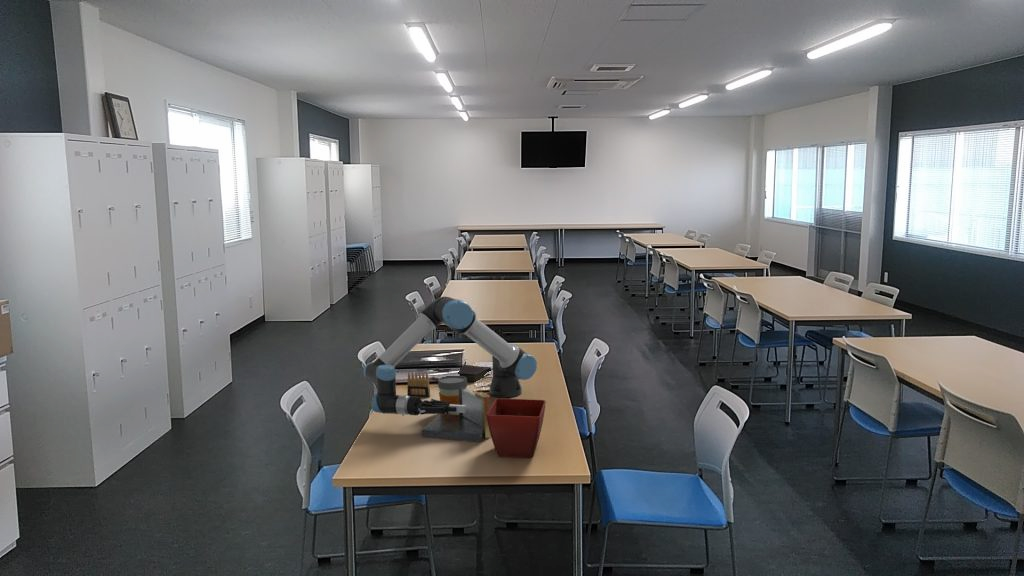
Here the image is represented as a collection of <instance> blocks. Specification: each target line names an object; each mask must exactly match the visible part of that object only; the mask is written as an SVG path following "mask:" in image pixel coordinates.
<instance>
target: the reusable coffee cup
mask: <svg viewBox="0 0 1024 576" xmlns="http://www.w3.org/2000/svg"><path fill="white" fill-rule="evenodd" d="M437 380H438V381H437V387H438V390H439V393H438V395H439V401H445V402H451V404H454V405H459V388H465V389H466V390H467V387H468V382H467V379H466V377H463V376H446V377H442V378H440V379H437ZM445 414H446V412H445ZM449 414H455V415H459V413H457V412H449Z"/></svg>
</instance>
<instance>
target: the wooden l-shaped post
mask: <svg viewBox="0 0 1024 576" xmlns="http://www.w3.org/2000/svg"><path fill="white" fill-rule="evenodd" d="M474 393H475V397H477V398H478V399H480V400H481V403H482V430H484V440H486V439H490V438H491V434H490V430H489V426H488V421H487V415H486V414H487V413H488V411H489V409H490V408H491V395H489V394H487V393H485V392H483V391H478V392H474ZM491 439H492V438H491Z"/></svg>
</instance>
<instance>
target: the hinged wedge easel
mask: <svg viewBox="0 0 1024 576" xmlns="http://www.w3.org/2000/svg"><path fill="white" fill-rule="evenodd" d="M475 393H476V392H472V391H470V390H467V388H466V389H465V388H459V405H466V412H465V413H459V415H461V416H464V417H466V418H468V419H470V420H472V421H473V422H475V423H477V424H479V425H481V426H482V403H481V400H480V399H478V398H477V397H475Z"/></svg>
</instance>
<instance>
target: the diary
mask: <svg viewBox="0 0 1024 576" xmlns="http://www.w3.org/2000/svg"><path fill="white" fill-rule="evenodd" d="M462 365H463V366H462V367H461V368H460V371H459V372H458V374H460V376H463V377H466V379H467V384H468V383H470V384H474V383H473V382H476V381H478V380H480V379H481V378H483V377H484V375H485V374H486V373H487V372H489V371H491V372H492V368H491V367H490V366H478V365H472V364H471V365H470V364H462ZM449 370H450V371H451V369H444V370H439V369H436V368H434V369H432V371H438V372H449ZM484 378H485V377H484Z"/></svg>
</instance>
